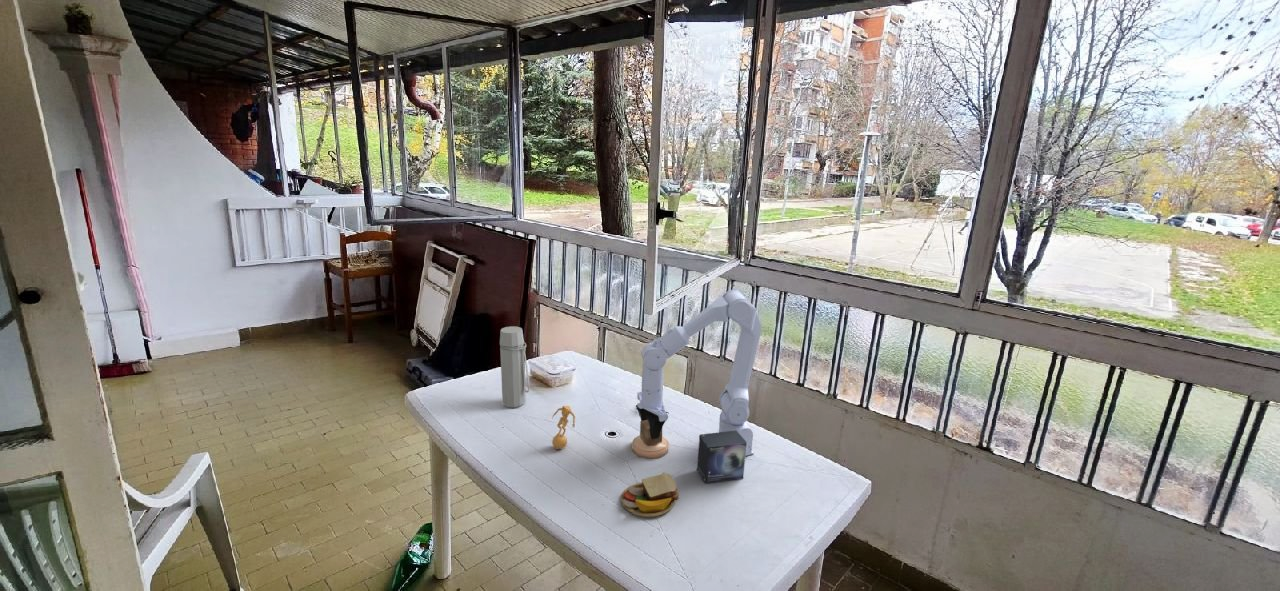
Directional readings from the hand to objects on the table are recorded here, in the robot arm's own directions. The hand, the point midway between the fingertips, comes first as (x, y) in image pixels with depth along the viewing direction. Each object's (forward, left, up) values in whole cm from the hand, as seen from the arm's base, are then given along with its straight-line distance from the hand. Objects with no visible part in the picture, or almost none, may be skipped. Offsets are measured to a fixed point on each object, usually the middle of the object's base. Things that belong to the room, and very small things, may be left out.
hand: (650, 433), depth 148 cm
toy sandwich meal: (-20, +10, -5) cm, 23 cm away
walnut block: (0, 0, -2) cm, 2 cm away
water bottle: (+40, +28, -5) cm, 49 cm away
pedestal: (0, 0, -5) cm, 5 cm away
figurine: (+10, +22, -5) cm, 25 cm away
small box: (-18, -11, -5) cm, 22 cm away
